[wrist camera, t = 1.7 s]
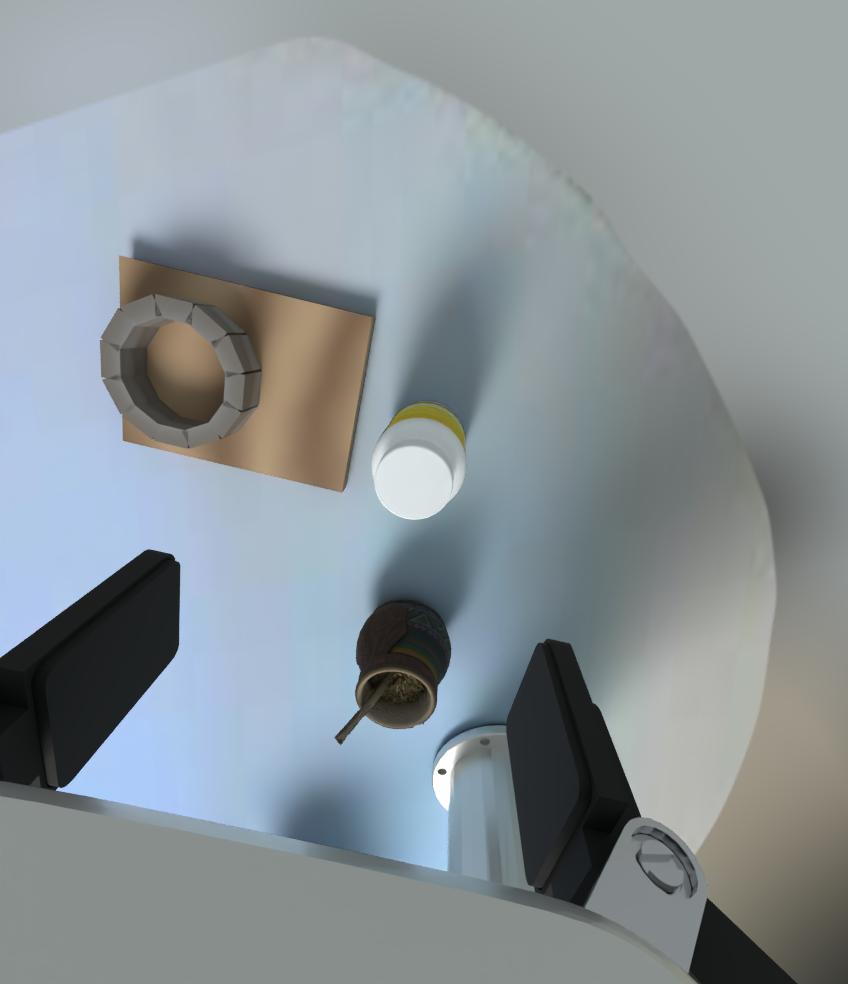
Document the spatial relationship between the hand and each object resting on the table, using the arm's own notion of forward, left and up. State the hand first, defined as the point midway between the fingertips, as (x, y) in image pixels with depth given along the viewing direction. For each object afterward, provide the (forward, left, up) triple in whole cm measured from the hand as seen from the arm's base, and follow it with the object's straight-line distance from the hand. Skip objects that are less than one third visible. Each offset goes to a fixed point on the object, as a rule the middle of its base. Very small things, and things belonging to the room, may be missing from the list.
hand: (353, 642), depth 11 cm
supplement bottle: (-1, -1, -21) cm, 21 cm away
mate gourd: (-3, +15, -21) cm, 26 cm away
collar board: (+12, -2, -21) cm, 25 cm away
